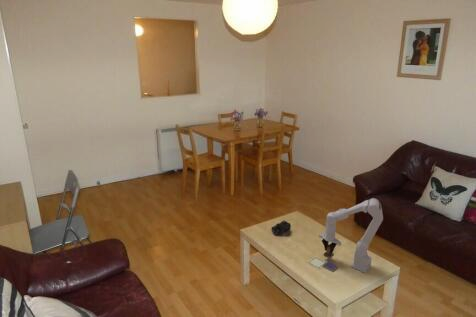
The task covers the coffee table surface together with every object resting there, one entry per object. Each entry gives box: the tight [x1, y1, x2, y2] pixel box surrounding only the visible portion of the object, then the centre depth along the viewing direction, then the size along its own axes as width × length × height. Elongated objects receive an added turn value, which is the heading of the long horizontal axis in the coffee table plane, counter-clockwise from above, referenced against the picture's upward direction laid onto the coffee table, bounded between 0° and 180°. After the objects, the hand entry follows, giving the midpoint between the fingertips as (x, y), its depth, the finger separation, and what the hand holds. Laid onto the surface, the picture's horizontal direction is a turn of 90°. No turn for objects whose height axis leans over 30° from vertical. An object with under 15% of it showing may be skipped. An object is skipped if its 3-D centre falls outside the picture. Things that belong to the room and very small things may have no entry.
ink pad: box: [322, 260, 339, 273], centre depth 205 cm, size 7×6×1 cm
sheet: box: [306, 256, 328, 270], centre depth 210 cm, size 9×9×1 cm
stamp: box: [323, 243, 335, 260], centre depth 210 cm, size 4×4×7 cm
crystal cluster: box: [271, 220, 292, 237], centre depth 244 cm, size 13×14×10 cm
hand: (329, 251), depth 211 cm, fingers closed on stamp, 3 cm apart
